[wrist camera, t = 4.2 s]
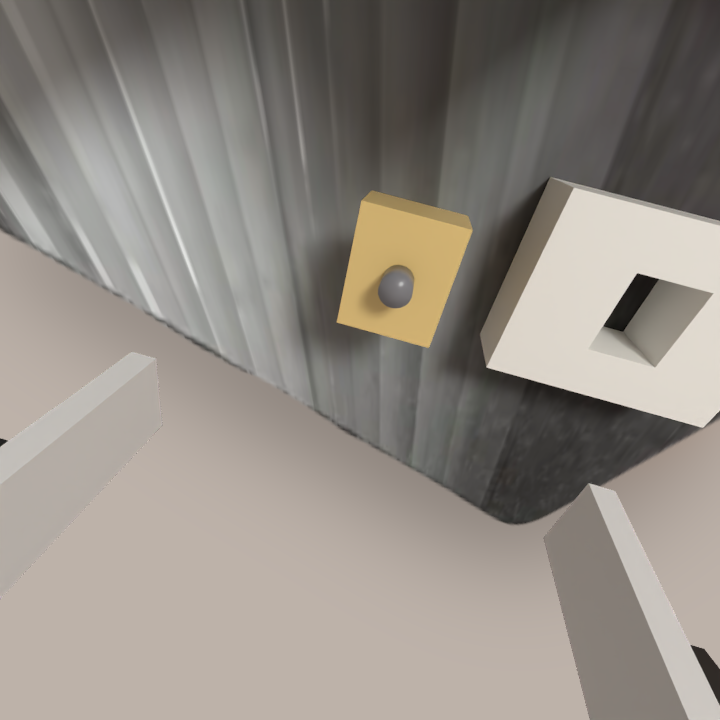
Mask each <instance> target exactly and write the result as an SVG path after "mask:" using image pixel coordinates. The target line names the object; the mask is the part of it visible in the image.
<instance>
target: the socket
mask: <svg viewBox="0 0 720 720" xmlns="http://www.w3.org/2000/svg"><path fill="white" fill-rule="evenodd" d="M637 273H639V274H643V275H646V276H650V277H654V278H658V279H659V280H658V282H657V283H656V284H655V286H654V287H653V289H652V290H651V292H650V293H649V295H648V296H647V298H646V299H645V300H644V302H643V303H642V305H641V306H640V308H639V309H638V311H637V312H636V314H635V315H634V317H633V318H632V319H631V321H630V322H629V324H628V325H627V327H626V328H625V330H624V331H623V332H622V331H618V330H615V329H611V328H607V327H604V326H603V325H604V324H605V322H606V320H607V319H608V317H609V316H610V314H611V313H612V311H613V310H614V308H615V307H616V305H617V303H618V302H619V300H620V299H621V297H622V296H623V294H624V293H625V291H626V290H627V288H628V286H629V285H630V283H631V282H632V280H633V279H634V277H635V276H636V274H637ZM480 338H481V343H482V348H483V353H484V358H485V363H486V367H487V368H490V369H494V370H497V371H501V372H504V373H508V374H512V375H515V376H519V377H522V378H526V379H530V380H533V381H537V382H540V383H544V384H548V385H551V386H555V387H558V388H562V389H566V390H569V391H573V392H576V393H580V394H584V395H587V396H591V397H594V398H598V399H601V400H605V401H609V402H612V403H616V404H619V405H623V406H627V407H630V408H634V409H637V410H641V411H645V412H648V413H652V414H655V415H659V416H663V417H666V418H670V419H673V420H677V421H681V422H684V423H688V424H691V425H695V426H698V427H702V428H703V427H704V426H705V425H706V424H707V423H708V422H709V421H710V420H711V419H712V418H713V417H714V416H715V415H716V414H717V413H718V412H719V411H720V221H718V220H714V219H710V218H706V217H703V216H699V215H695V214H691V213H687V212H683V211H679V210H676V209H672V208H668V207H664V206H660V205H656V204H653V203H649V202H645V201H641V200H637V199H633V198H630V197H626V196H622V195H618V194H614V193H610V192H606V191H603V190H599V189H595V188H591V187H587V186H583V185H580V184H576V183H572V182H568V181H564V180H560V179H557V178H553V177H550V179H549V181H548V183H547V185H546V187H545V190H544V192H543V194H542V196H541V199H540V201H539V203H538V205H537V208H536V210H535V212H534V214H533V216H532V219H531V221H530V223H529V225H528V228H527V230H526V232H525V234H524V237H523V239H522V241H521V243H520V245H519V248H518V250H517V252H516V254H515V257H514V259H513V261H512V263H511V266H510V268H509V270H508V272H507V274H506V277H505V279H504V281H503V283H502V286H501V288H500V290H499V292H498V295H497V297H496V299H495V301H494V303H493V306H492V308H491V310H490V312H489V315H488V317H487V319H486V321H485V324H484V326H483V328H482V330H481V332H480Z"/></svg>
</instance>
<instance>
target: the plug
mask: <svg viewBox="0 0 720 720" xmlns="http://www.w3.org/2000/svg"><path fill="white" fill-rule="evenodd" d="M472 231H473V229H472V226H471V223H470V220H469V217H468V216H467V215H463V214H459V213H455V212H451V211H448V210H444V209H440V208H436V207H433V206H429V205H425V204H421V203H418V202H414V201H410V200H406V199H402V198H399V197H395V196H391V195H387V194H384V193H380V192H376V191H371V192H370V193H369V194H368V195H367V196H366V197H365V198H363V199H362V201H361V206H360V210H359V215H358V220H357V225H356V230H355V235H354V240H353V245H352V250H351V255H350V259H349V264H348V269H347V274H346V279H345V284H344V289H343V294H342V299H341V304H340V308H339V313H338V318H337V323H341V324H344V325H348V326H351V327H355V328H359V329H362V330H366V331H369V332H373V333H377V334H380V335H384V336H387V337H391V338H395V339H398V340H402V341H405V342H409V343H413V344H416V345H420V346H423V347H427V348H429V346H430V344H431V341H432V338H433V336H434V333H435V330H436V328H437V325H438V322H439V319H440V317H441V314H442V311H443V309H444V306H445V303H446V301H447V298H448V295H449V293H450V290H451V287H452V284H453V282H454V279H455V276H456V274H457V271H458V268H459V266H460V263H461V260H462V258H463V255H464V252H465V250H466V247H467V244H468V241H469V239H470V236H471V233H472Z"/></svg>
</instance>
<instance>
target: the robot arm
mask: <svg viewBox="0 0 720 720" xmlns="http://www.w3.org/2000/svg"><path fill="white" fill-rule="evenodd" d="M161 427H162V415H161V405H160V394H159V383H158V373H157V362H156V358H152V357H149V356H145V355H142V354H139V353H135V352H131V353H130V354H128V355H127V356H125V357H124V358H123V359H121V360H120V361H118V362H117V363H116V364H114V365H113V366H111V367H110V368H109V369H107V370H106V371H105V372H103V373H102V374H100V375H99V376H98V377H96V378H95V379H93V380H92V381H91V382H89V383H88V384H87V385H85V386H84V387H83V388H81V389H80V390H78V391H77V392H75V393H74V394H73V395H71V396H70V397H69V398H67V399H66V400H65V401H63V402H62V403H60V404H59V405H57V406H56V407H55V408H53V409H52V410H51V411H49V412H48V413H46V414H45V415H44V416H42V417H41V418H40V419H38V420H37V421H35V422H34V423H33V424H32V425H30V426H28V427H27V428H26V429H24V430H23V431H21V432H20V433H19V434H17V435H16V436H15V437H13V438H12V439H10V440H9V441H7V440H4V439H0V599H1V597H2V596H3V595H4V594H5V593H6V592H7V591H8V590H9V589H10V588H11V587H12V586H13V585H14V584H15V583H16V581H17V580H18V579H19V578H20V577H21V576H22V575H23V574H24V573H25V572H26V571H27V570H28V569H29V568H30V567H31V565H32V564H33V563H34V562H35V561H36V560H37V559H38V558H39V557H40V556H41V555H42V554H43V553H44V552H45V551H46V549H47V548H48V547H49V546H50V545H51V544H52V543H53V542H54V541H55V540H56V539H57V538H58V537H59V536H60V534H61V533H62V532H63V531H64V530H65V529H66V528H67V527H68V526H69V525H70V524H71V523H72V522H73V521H74V520H75V518H76V517H77V516H78V515H79V514H80V513H81V512H82V511H83V510H84V509H85V508H86V506H88V505H89V503H90V502H91V501H92V500H93V499H94V498H95V497H96V496H97V495H98V494H99V493H100V492H101V491H102V490H103V489H104V487H105V486H106V485H107V484H108V483H109V482H110V481H111V480H112V479H113V478H114V477H115V476H116V475H117V474H118V472H119V471H120V470H121V469H122V468H123V467H124V466H125V465H126V464H127V463H128V462H129V461H130V460H131V459H132V457H133V456H134V455H135V454H136V453H137V452H138V451H139V450H140V449H141V448H142V447H143V446H144V445H145V444H146V443H147V441H148V440H149V439H150V438H151V437H152V436H153V435H154V434H155V433H156V432H157V431H158V430H159V429H160V428H161ZM544 542H545V546H546V550H547V554H548V558H549V562H550V566H551V569H552V573H553V577H554V581H555V585H556V589H557V593H558V597H559V601H560V605H561V609H562V613H563V616H564V620H565V624H566V628H567V632H568V636H569V639H570V644H571V648H572V651H573V656H574V659H575V663H576V667H577V671H578V675H579V679H580V683H581V687H582V691H583V695H584V698H585V703H586V706H587V710H588V714H589V718H590V720H720V669H719V668H718V666H717V665H716V664H715V663H714V661H713V660H712V659H711V657H710V656H709V655H708V653H707V652H706V651H705V649H702V648H699V647H695V646H692V645H690V644H689V642H688V640H687V637H686V636H685V633H684V632H683V629H682V627H681V625H680V623H679V621H678V619H677V617H676V615H675V613H674V611H673V609H672V607H671V605H670V603H669V601H668V599H667V597H666V595H665V592H664V590H663V588H662V586H661V584H660V582H659V580H658V578H657V576H656V574H655V572H654V570H653V568H652V566H651V564H650V562H649V560H648V558H647V555H646V554H645V551H644V549H643V548H642V545H641V543H640V541H639V539H638V537H637V535H636V533H635V531H634V529H633V527H632V525H631V523H630V521H629V519H628V517H627V515H626V512H625V510H624V509H623V506H622V504H621V502H620V500H619V498H618V496H617V494H616V492H615V491H614V490H610V489H606V488H603V487H600V486H596V485H593V484H588V485H587V486H586V487H585V488H584V490H583V491H582V492H581V493H580V494H579V496H578V497H577V498H576V499H575V500H574V502H573V503H572V504H571V505H570V506H569V508H568V509H567V510H566V511H565V512H564V514H563V515H562V516H561V517H560V519H559V520H558V521H557V522H556V523H555V525H554V526H553V527H552V528H551V529H550V530H549V532H548V533H547V534H546V535H545V536H544Z"/></svg>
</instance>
